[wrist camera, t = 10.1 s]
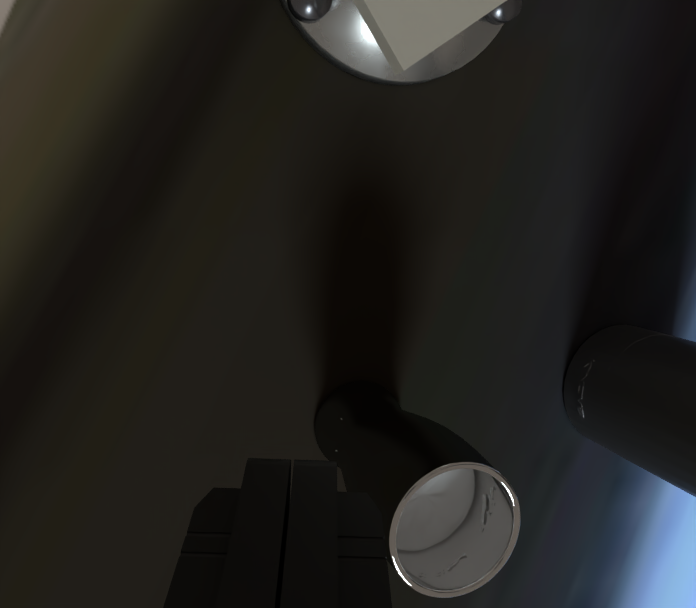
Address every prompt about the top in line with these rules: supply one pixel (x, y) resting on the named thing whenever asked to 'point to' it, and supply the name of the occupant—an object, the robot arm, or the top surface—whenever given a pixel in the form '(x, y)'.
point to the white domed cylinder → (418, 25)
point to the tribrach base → (366, 56)
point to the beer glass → (421, 490)
